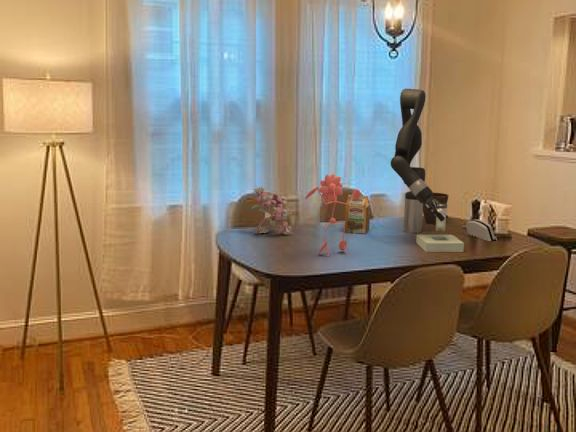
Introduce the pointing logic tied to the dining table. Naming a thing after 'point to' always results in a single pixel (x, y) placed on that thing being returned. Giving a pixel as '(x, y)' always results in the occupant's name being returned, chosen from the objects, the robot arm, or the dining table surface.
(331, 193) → the pink blossom sprig
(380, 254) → the dining table surface
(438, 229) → the steel peg
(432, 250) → the hole plate
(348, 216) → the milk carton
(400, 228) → the dining table surface
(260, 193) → the flower
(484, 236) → the grey napkin holder
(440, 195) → the plant pot
